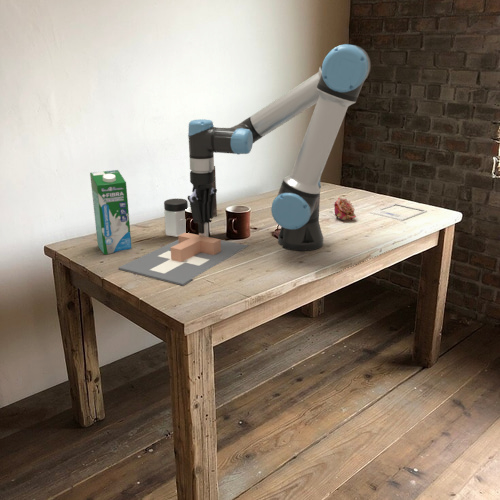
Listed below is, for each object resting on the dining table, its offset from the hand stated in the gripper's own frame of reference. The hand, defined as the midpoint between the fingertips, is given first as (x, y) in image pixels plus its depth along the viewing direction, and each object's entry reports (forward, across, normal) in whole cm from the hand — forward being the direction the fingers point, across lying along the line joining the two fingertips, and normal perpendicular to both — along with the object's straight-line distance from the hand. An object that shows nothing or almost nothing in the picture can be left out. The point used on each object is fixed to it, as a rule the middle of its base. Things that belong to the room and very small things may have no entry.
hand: (203, 241), depth 178 cm
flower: (+3, -54, +28) cm, 60 cm away
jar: (+3, -7, -17) cm, 18 cm away
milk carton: (+3, +15, -26) cm, 30 cm away
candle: (+3, -30, -20) cm, 36 cm away
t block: (+2, +8, 0) cm, 8 cm away
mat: (+2, +10, 0) cm, 10 cm away
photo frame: (+3, -74, +42) cm, 85 cm away
